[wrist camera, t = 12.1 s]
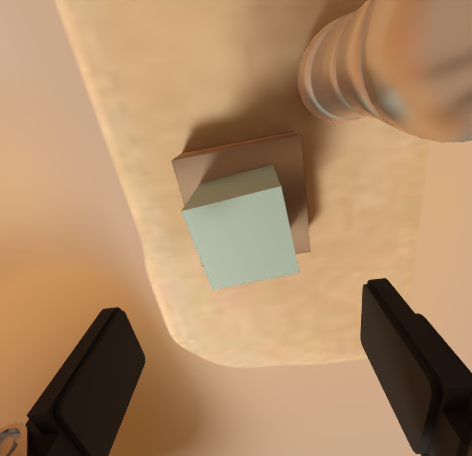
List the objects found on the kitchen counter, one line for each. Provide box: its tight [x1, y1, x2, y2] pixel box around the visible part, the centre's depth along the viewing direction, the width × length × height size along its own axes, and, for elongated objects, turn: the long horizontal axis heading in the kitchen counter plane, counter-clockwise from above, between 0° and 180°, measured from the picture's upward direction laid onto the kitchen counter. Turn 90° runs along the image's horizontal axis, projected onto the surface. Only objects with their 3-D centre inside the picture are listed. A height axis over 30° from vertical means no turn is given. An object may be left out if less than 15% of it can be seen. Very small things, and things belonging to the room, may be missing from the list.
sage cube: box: [182, 164, 299, 290], centre depth 19 cm, size 6×6×6 cm
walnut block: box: [172, 132, 311, 267], centre depth 23 cm, size 10×10×4 cm
